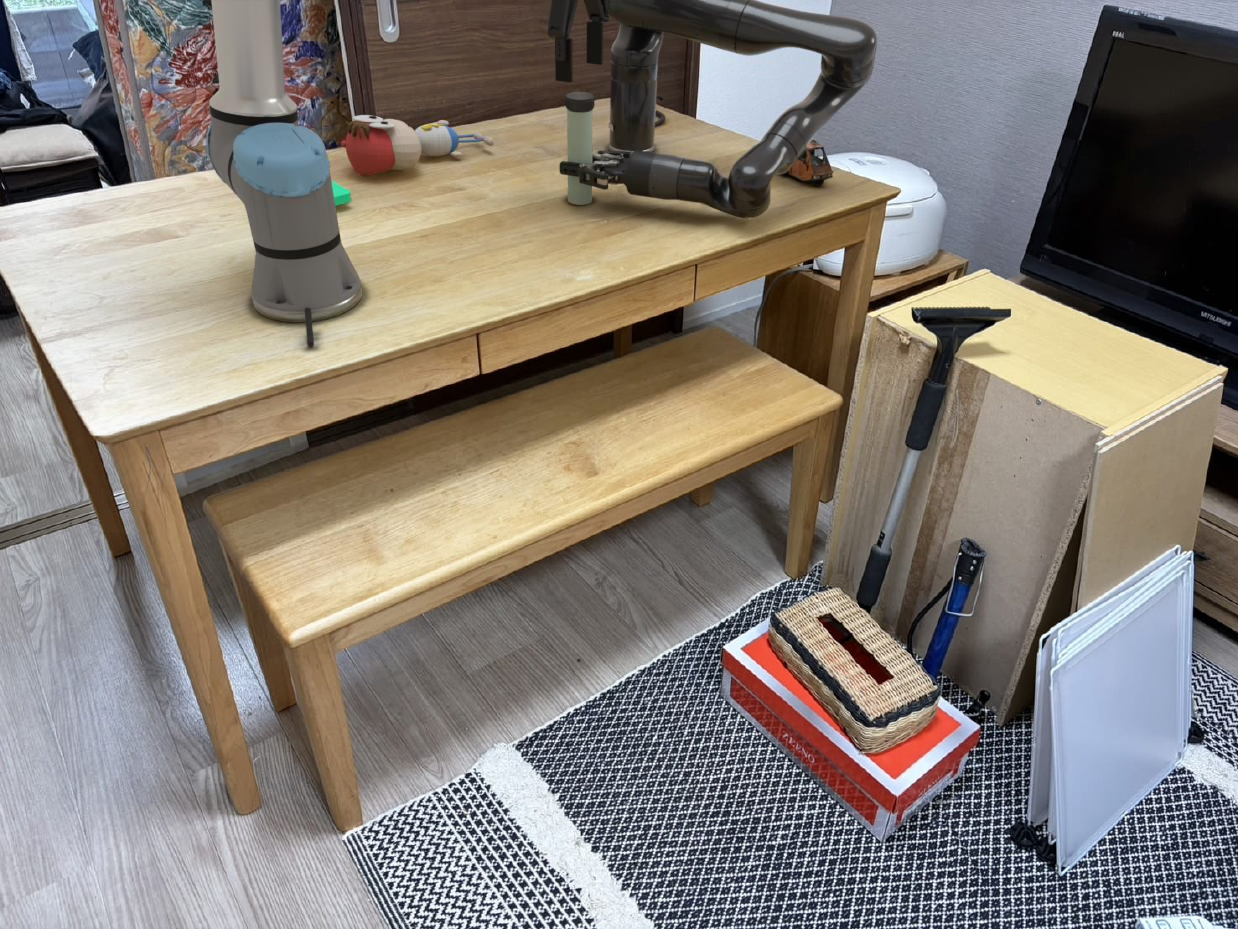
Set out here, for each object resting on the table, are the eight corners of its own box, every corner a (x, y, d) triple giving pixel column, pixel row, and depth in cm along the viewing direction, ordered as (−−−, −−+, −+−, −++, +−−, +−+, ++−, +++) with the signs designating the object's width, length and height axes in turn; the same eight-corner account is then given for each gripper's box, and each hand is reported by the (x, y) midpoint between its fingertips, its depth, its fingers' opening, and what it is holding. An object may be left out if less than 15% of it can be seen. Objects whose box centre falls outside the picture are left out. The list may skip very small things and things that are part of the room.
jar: (584, 194, 171) (584, 93, 160) (596, 202, 168) (597, 99, 157) (563, 198, 169) (562, 96, 158) (575, 206, 166) (575, 103, 155)
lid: (585, 101, 161) (585, 90, 160) (599, 109, 158) (599, 97, 157) (560, 105, 159) (560, 93, 158) (574, 113, 156) (574, 101, 154)
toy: (509, 121, 178) (356, 125, 163) (508, 175, 183) (360, 183, 168) (469, 106, 192) (324, 108, 177) (469, 157, 197) (328, 162, 181)
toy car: (791, 165, 186) (796, 130, 181) (837, 182, 178) (843, 146, 174) (769, 171, 182) (773, 136, 178) (815, 189, 175) (821, 153, 171)
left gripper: (588, -87, 152) (588, 53, 165) (522, -70, 134) (527, 86, 147) (631, -84, 150) (627, 58, 163) (569, -66, 132) (570, 92, 145)
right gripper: (643, 210, 158) (550, 196, 162) (667, 183, 169) (579, 170, 173) (645, 167, 153) (549, 153, 157) (669, 141, 164) (579, 129, 168)
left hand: (579, 72), depth 155 cm, fingers open, 12 cm apart
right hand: (565, 162), depth 165 cm, fingers closed on jar, 4 cm apart
